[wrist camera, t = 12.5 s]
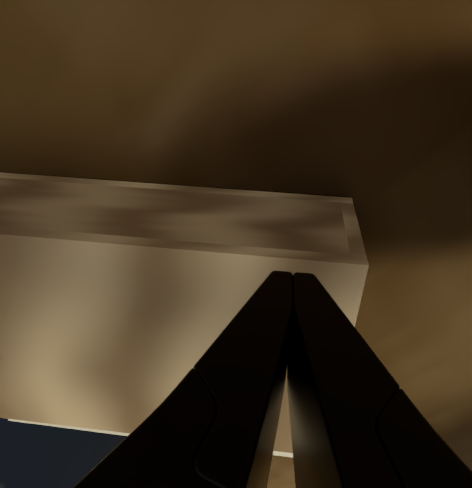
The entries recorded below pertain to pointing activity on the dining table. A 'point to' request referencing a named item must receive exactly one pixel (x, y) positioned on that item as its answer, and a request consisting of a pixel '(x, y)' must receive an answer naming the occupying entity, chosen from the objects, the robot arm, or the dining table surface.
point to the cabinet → (145, 287)
